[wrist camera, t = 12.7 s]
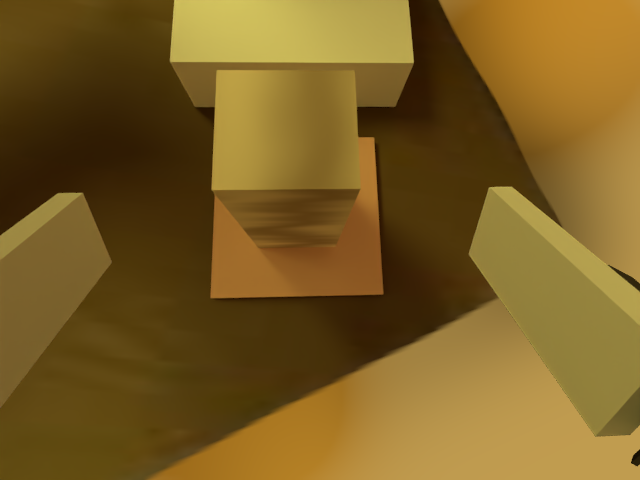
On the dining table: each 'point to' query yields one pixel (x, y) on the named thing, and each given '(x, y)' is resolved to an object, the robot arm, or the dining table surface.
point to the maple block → (287, 154)
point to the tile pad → (304, 253)
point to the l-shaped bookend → (294, 42)
